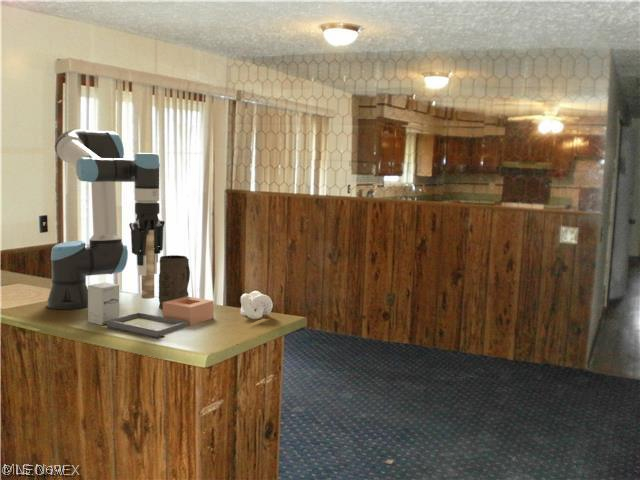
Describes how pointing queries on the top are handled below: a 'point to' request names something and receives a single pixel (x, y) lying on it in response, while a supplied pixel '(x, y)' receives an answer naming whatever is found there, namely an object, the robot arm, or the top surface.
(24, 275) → the top surface
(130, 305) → the top surface
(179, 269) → the beer stein
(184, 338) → the top surface
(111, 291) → the supplement box
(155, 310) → the top surface
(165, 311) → the orange square hole block
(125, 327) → the tray
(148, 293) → the wooden peg
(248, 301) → the white decorative knot
